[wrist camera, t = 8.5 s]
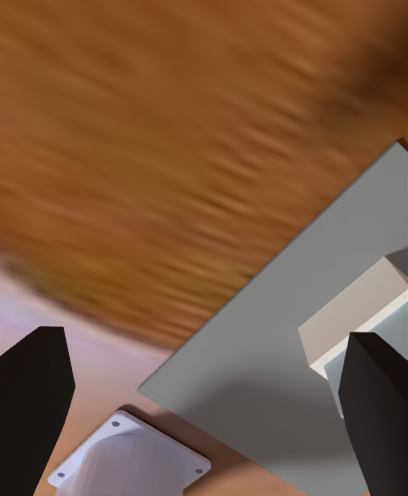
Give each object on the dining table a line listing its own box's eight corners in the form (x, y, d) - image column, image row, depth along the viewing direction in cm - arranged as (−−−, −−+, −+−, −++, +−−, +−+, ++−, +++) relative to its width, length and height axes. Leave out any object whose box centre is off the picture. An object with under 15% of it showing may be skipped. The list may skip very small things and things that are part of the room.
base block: (368, 381, 23) (388, 423, 21) (297, 328, 22) (309, 366, 19) (455, 320, 21) (490, 358, 18) (383, 255, 20) (410, 287, 17)
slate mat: (332, 506, 29) (333, 510, 29) (137, 387, 25) (137, 391, 24) (599, 349, 22) (604, 353, 22) (395, 140, 17) (397, 142, 17)
